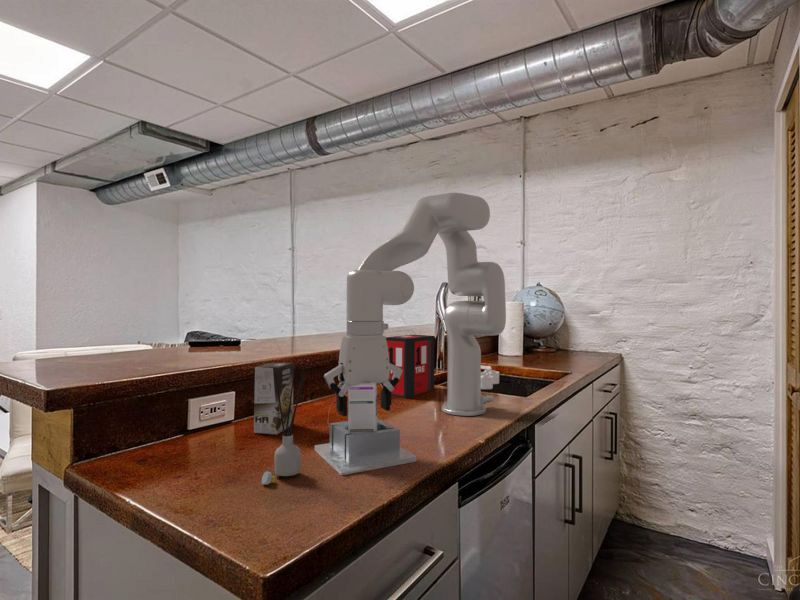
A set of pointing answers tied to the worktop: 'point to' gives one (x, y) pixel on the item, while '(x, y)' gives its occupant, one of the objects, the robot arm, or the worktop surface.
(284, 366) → the coffee box
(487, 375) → the skeletal toy car
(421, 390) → the cleaning product box
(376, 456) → the square socket
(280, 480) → the worktop surface
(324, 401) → the worktop surface
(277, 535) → the worktop surface
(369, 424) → the syrup box
